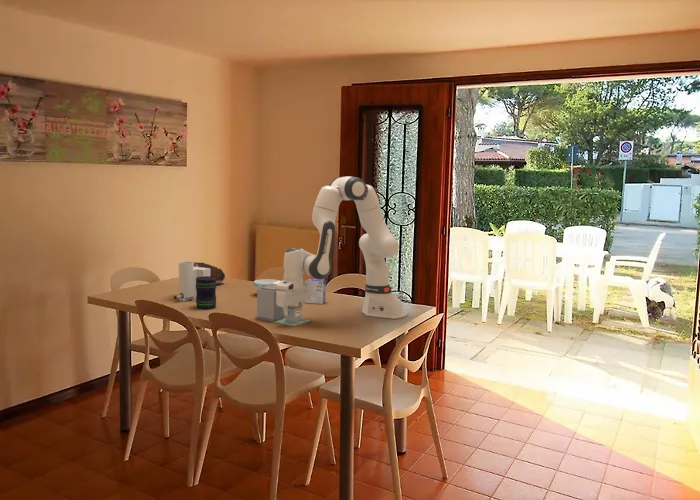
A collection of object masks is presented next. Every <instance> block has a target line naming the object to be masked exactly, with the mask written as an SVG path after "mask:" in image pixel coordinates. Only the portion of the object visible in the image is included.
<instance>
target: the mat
mask: <svg viewBox="0 0 700 500" xmlns="http://www.w3.org/2000/svg"><path fill="white" fill-rule="evenodd" d="M310 322H311V319H306V318H303V317H301V320H300V321H297V322H289V321H285V319H282V320H278V321H275V322H274V323H275V324H280V325H285V326H289V327H298V326H300V325H304V324H306V323H310ZM297 325H298V326H297Z"/></svg>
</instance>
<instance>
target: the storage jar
mask: <svg viewBox="0 0 700 500" xmlns="http://www.w3.org/2000/svg"><path fill="white" fill-rule="evenodd" d="M216 289H217V284H216V277H211V276H203V277H197V278H196V290H197V297H196V300H195V306H196V307H195V308H196V309H197V310H200V309H201V310H202V311H210V310H214V309H217V296H216V295H217V294H216Z"/></svg>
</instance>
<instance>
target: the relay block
mask: <svg viewBox="0 0 700 500" xmlns="http://www.w3.org/2000/svg"><path fill="white" fill-rule="evenodd" d="M287 310H288V311H289V315H287V316H286V315H285V321H289V322H297V321H300V320H301V318H302V317H301V315H302V311H301V307H298V305H290V306H289V307H288V308H287Z"/></svg>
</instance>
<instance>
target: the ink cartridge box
mask: <svg viewBox="0 0 700 500" xmlns="http://www.w3.org/2000/svg"><path fill="white" fill-rule="evenodd" d="M305 281H306V282H307V286H308V289H309V299H308V300H307V301H304V302H305V304H317V305H318V304H319V305H320V304H321V305H323V304H325V303H326V287H327V286H326V285H327V283H326V282H327V281H326V279H316V278H314V277H312V278H308V279H306V280H305Z"/></svg>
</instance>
